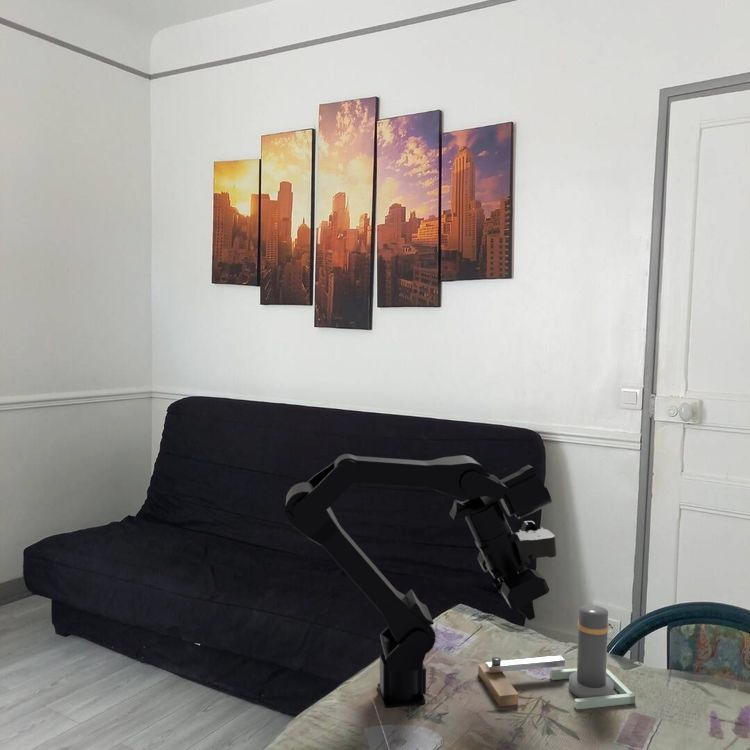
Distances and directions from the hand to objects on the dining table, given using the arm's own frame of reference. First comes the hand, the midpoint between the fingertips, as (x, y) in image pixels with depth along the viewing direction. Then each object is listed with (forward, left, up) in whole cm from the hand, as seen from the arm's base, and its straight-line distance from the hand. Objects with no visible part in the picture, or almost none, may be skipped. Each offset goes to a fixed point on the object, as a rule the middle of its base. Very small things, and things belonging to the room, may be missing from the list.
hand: (531, 618), depth 111 cm
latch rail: (-5, +1, -12) cm, 13 cm away
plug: (+9, -2, -11) cm, 15 cm away
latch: (0, +3, -9) cm, 10 cm away
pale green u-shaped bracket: (+9, -2, -12) cm, 15 cm away
